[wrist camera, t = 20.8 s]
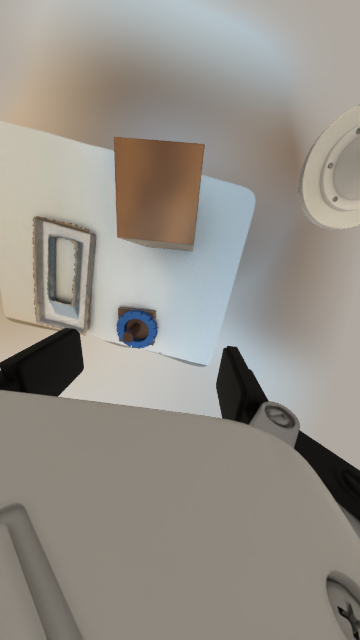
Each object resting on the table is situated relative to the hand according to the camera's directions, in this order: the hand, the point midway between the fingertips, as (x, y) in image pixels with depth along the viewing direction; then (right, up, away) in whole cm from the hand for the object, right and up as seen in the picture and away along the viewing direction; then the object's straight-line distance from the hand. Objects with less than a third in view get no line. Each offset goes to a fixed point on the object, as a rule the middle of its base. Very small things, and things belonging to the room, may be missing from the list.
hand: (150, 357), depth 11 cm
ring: (-9, 0, +31) cm, 32 cm away
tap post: (-9, +1, +33) cm, 34 cm away
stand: (0, +23, +24) cm, 33 cm away
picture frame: (-25, +12, +30) cm, 41 cm away
